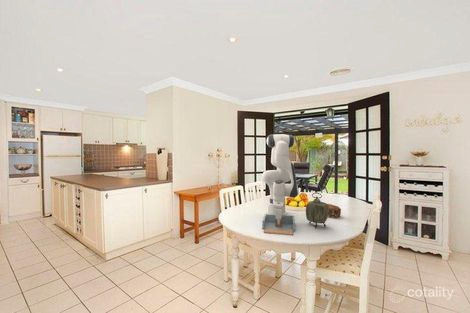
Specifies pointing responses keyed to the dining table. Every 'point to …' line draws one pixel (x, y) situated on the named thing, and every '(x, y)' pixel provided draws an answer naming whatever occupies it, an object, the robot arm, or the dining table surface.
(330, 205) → the bread
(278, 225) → the walnut block
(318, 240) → the dining table surface
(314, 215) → the tabletop clock
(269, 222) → the blue-grey open tray
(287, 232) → the panel
